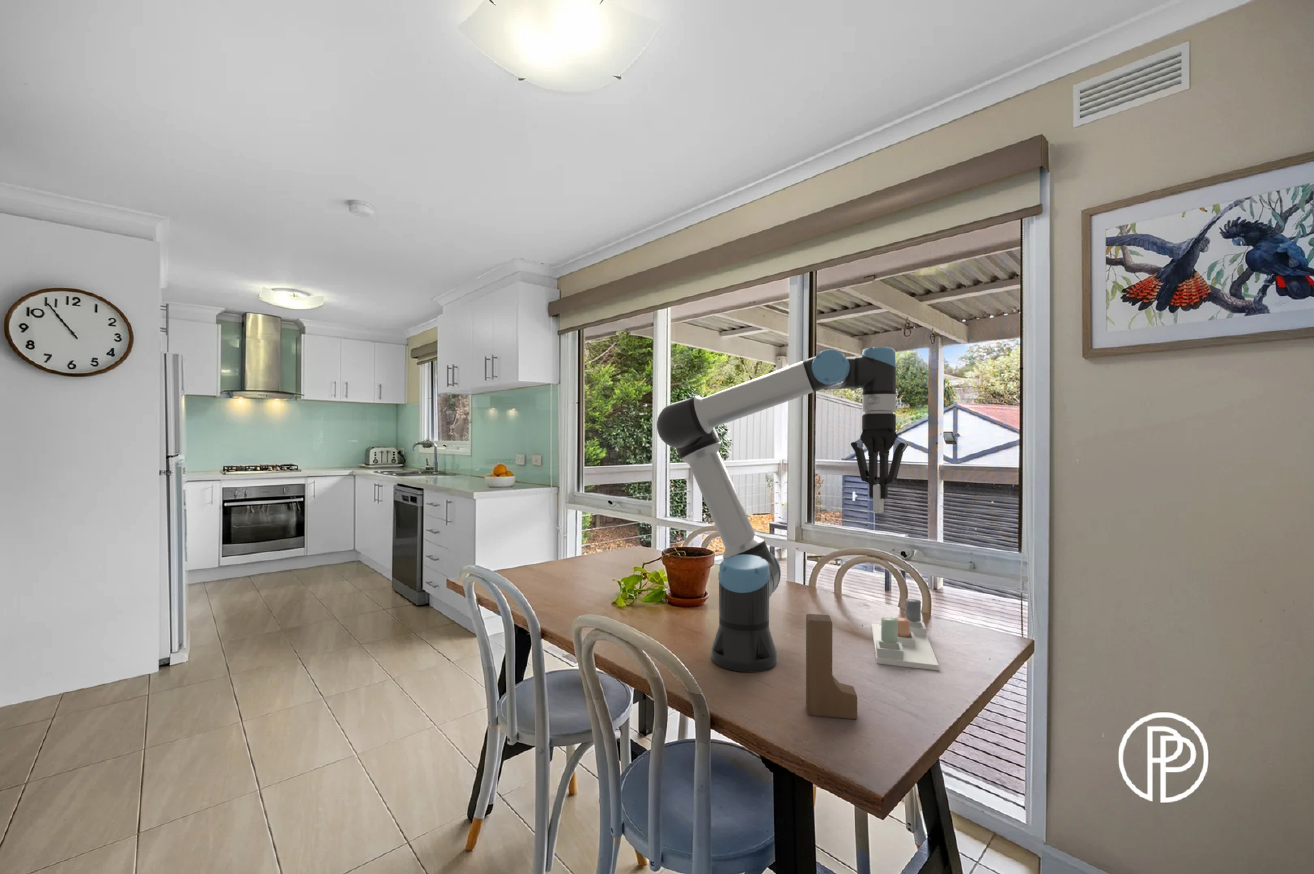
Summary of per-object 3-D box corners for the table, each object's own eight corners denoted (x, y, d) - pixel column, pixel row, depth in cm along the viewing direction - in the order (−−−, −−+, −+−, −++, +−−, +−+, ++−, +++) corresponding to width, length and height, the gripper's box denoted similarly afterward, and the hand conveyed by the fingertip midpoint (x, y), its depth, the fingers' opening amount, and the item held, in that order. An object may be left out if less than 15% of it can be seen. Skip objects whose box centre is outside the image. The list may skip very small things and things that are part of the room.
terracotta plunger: (894, 641, 141) (894, 621, 141) (893, 636, 144) (893, 616, 144) (910, 643, 140) (910, 622, 140) (908, 638, 143) (909, 618, 143)
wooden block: (853, 708, 110) (854, 615, 110) (857, 720, 106) (857, 623, 106) (805, 704, 112) (806, 613, 112) (807, 715, 107) (807, 620, 107)
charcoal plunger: (906, 621, 148) (906, 601, 148) (904, 616, 152) (905, 598, 152) (921, 622, 147) (921, 603, 147) (919, 618, 150) (919, 599, 150)
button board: (876, 663, 132) (876, 649, 132) (871, 627, 156) (871, 616, 156) (938, 670, 128) (938, 656, 128) (923, 633, 152) (923, 621, 152)
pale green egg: (881, 642, 133) (881, 620, 133) (880, 636, 137) (880, 616, 137) (898, 643, 132) (898, 622, 132) (897, 638, 136) (897, 617, 135)
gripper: (845, 413, 137) (845, 511, 137) (901, 412, 129) (900, 516, 129) (858, 414, 143) (858, 508, 143) (912, 412, 134) (912, 513, 134)
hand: (878, 512), depth 136 cm, fingers closed
